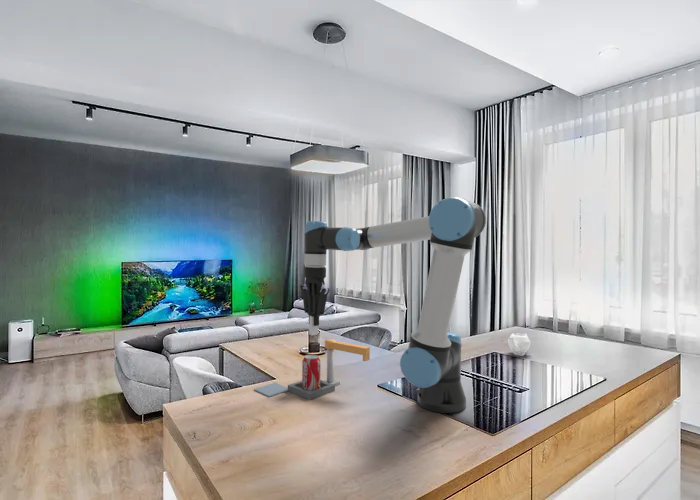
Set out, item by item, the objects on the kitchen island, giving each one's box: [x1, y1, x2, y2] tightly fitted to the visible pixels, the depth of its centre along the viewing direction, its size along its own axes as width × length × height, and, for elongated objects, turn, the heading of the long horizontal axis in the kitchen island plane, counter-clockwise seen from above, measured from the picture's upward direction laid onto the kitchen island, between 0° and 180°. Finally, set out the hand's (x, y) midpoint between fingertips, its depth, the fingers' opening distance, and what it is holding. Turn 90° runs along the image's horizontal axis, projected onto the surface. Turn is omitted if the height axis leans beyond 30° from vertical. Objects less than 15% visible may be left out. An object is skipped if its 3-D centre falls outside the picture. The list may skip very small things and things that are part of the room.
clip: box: [324, 338, 371, 362], centre depth 143 cm, size 4×18×4 cm, turn 55°
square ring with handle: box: [287, 349, 341, 401], centre depth 143 cm, size 12×17×13 cm
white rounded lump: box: [507, 332, 531, 357], centre depth 189 cm, size 10×20×9 cm, turn 135°
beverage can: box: [301, 354, 321, 391], centre depth 141 cm, size 6×6×12 cm
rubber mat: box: [253, 382, 289, 398], centre depth 141 cm, size 9×9×1 cm
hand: (313, 334), depth 141 cm, fingers closed
